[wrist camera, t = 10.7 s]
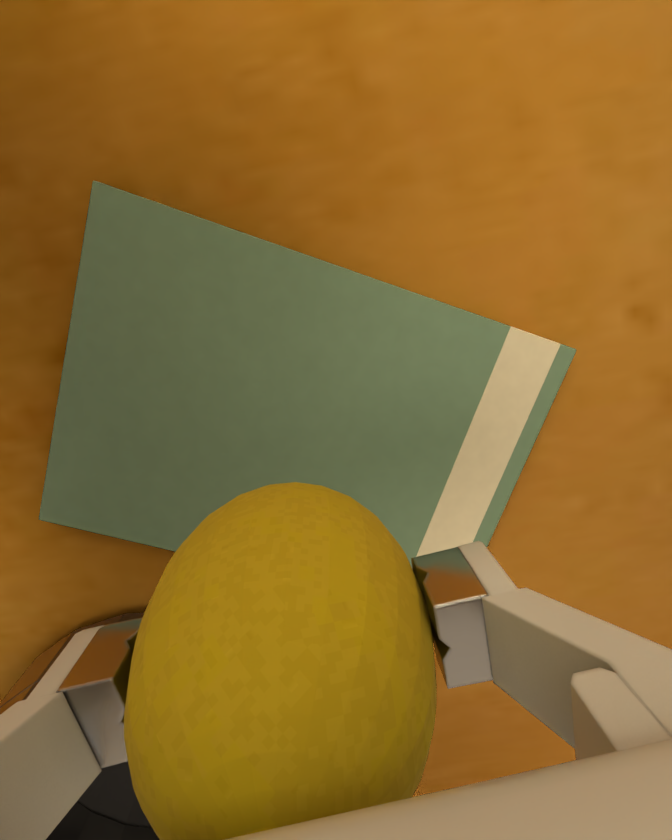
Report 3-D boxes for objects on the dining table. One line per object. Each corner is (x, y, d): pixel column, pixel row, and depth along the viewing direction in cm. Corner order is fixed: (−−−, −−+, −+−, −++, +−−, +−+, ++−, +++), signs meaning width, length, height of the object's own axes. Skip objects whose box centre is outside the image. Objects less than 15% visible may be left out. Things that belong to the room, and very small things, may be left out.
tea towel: (44, 514, 18) (37, 520, 17) (99, 183, 15) (91, 179, 14) (451, 610, 21) (455, 618, 20) (570, 348, 18) (578, 349, 17)
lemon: (402, 585, 13) (542, 1003, 5) (231, 622, 13) (106, 1099, 5) (370, 420, 11) (499, 650, 4) (178, 462, 11) (-114, 784, 4)
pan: (-2, 813, 22) (-112, 989, 16) (37, 573, 19) (-85, 689, 13) (275, 851, 24) (264, 1018, 19) (357, 642, 21) (376, 768, 15)
